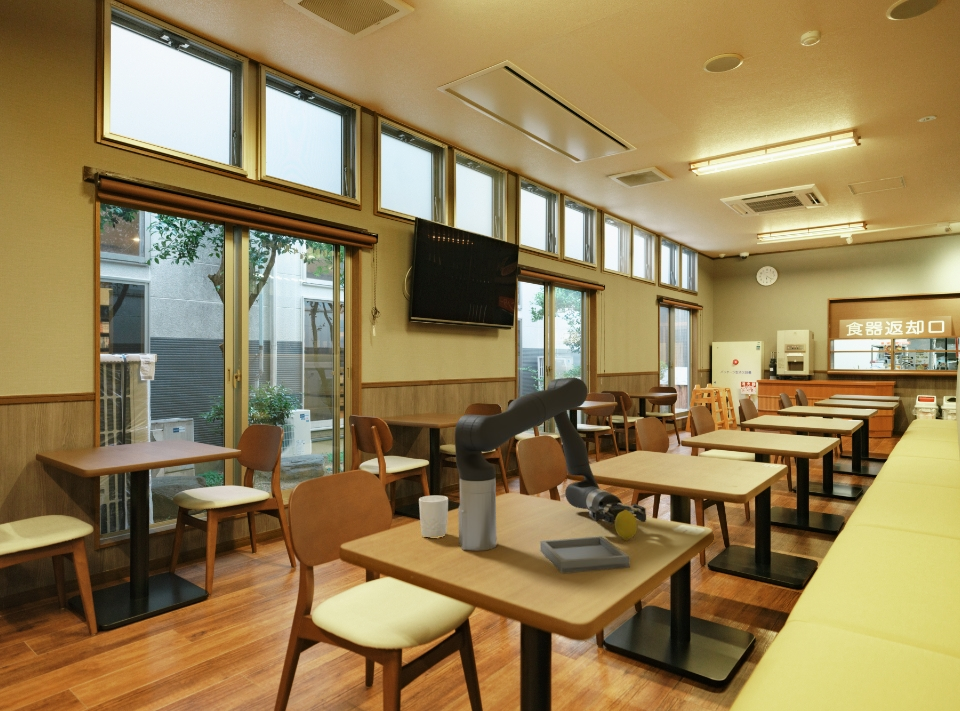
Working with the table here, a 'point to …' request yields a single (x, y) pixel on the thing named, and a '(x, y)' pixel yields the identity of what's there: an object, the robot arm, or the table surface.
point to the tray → (584, 554)
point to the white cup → (433, 515)
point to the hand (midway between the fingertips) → (628, 519)
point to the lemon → (625, 524)
